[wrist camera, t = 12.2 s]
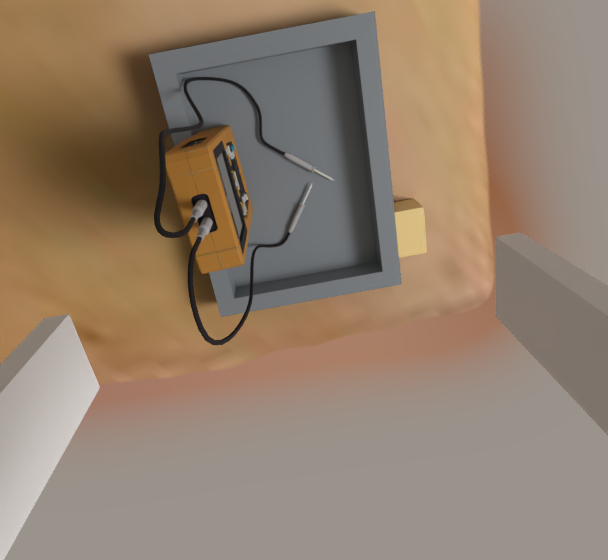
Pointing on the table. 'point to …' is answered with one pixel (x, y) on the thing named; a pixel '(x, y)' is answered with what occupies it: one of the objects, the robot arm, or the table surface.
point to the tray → (306, 146)
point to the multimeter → (213, 199)
